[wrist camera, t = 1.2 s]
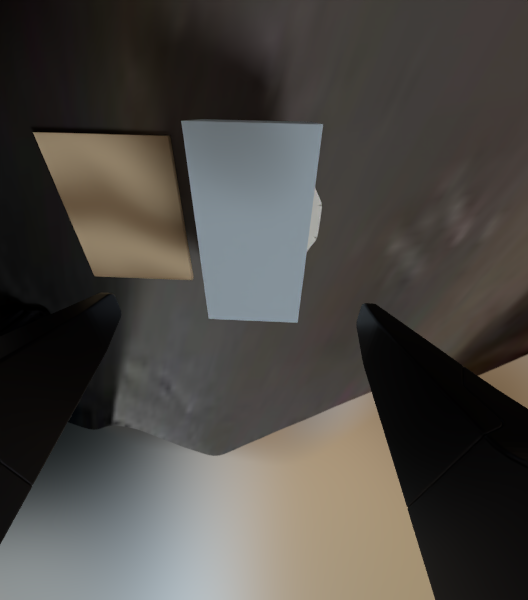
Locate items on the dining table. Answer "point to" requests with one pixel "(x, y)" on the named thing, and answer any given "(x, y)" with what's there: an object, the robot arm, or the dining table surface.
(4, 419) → the robot arm
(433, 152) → the dining table surface
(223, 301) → the light blue block
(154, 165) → the mat
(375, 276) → the dining table surface
